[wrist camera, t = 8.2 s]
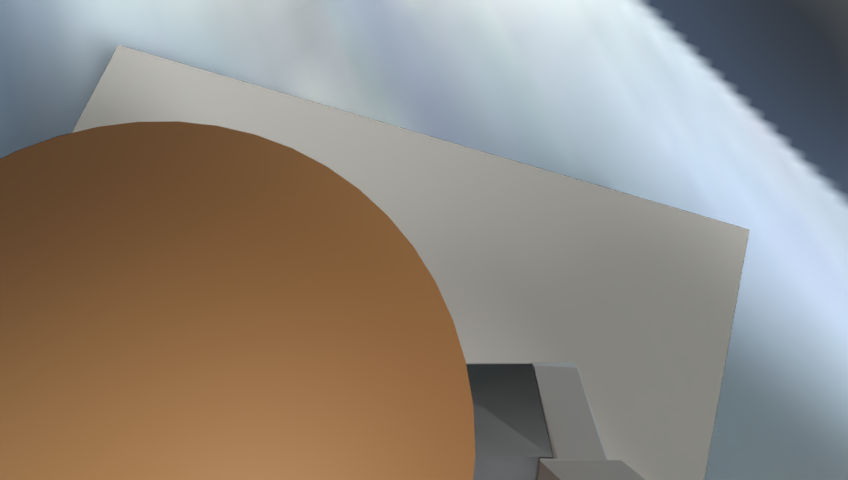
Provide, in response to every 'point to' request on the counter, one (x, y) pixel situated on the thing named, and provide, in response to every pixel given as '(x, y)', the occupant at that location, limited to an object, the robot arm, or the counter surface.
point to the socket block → (510, 254)
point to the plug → (216, 318)
